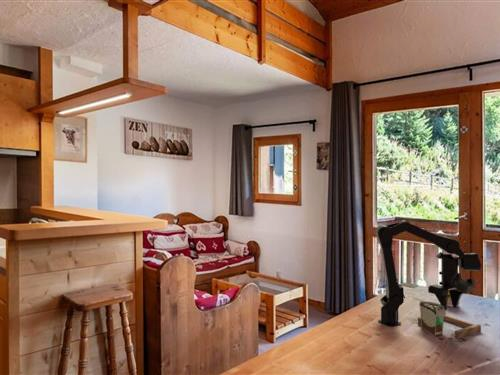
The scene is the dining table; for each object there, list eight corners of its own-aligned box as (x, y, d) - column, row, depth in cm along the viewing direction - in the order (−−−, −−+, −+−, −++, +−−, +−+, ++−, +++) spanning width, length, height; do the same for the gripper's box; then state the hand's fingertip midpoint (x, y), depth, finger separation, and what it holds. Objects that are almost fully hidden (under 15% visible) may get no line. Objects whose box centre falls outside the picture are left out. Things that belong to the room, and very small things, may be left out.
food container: (453, 337, 136) (453, 310, 136) (437, 338, 136) (437, 311, 136) (434, 325, 148) (433, 300, 148) (419, 325, 148) (419, 300, 148)
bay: (457, 338, 135) (457, 331, 135) (417, 323, 150) (417, 317, 150) (480, 331, 142) (480, 325, 142) (440, 317, 157) (440, 312, 157)
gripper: (454, 277, 135) (454, 319, 135) (484, 271, 143) (484, 311, 143) (427, 270, 145) (427, 310, 145) (457, 266, 153) (457, 303, 153)
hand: (449, 309), depth 146 cm, fingers open, 6 cm apart
